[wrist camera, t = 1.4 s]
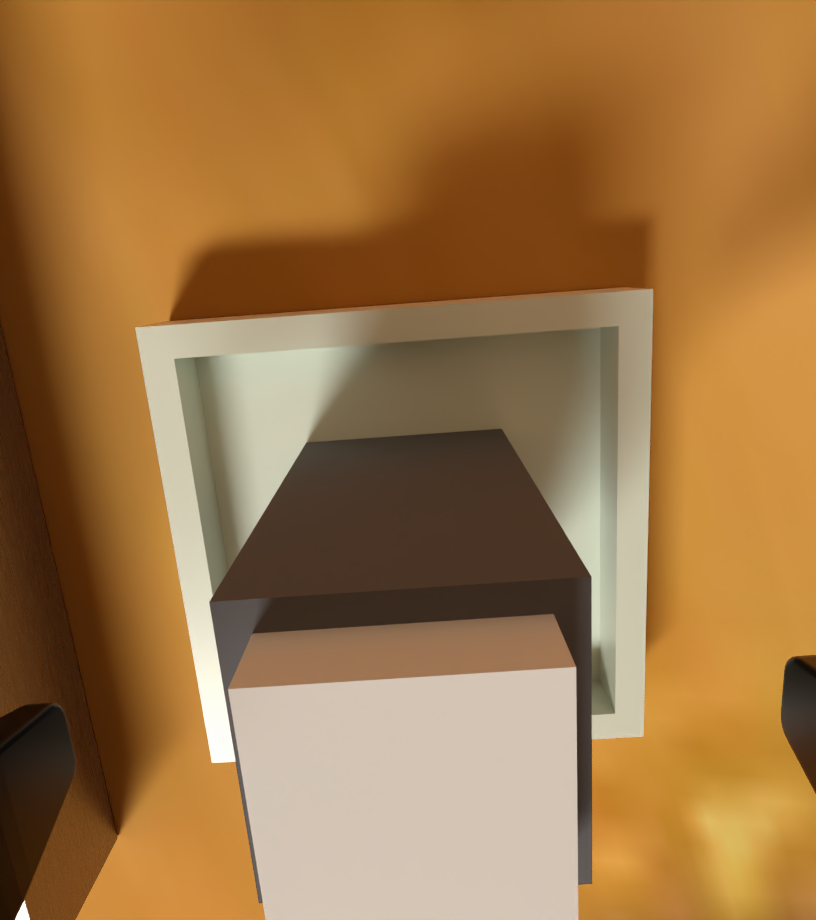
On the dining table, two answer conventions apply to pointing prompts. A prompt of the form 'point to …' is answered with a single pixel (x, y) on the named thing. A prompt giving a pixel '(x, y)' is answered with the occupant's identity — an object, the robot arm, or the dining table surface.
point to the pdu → (45, 673)
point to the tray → (412, 413)
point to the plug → (411, 686)
